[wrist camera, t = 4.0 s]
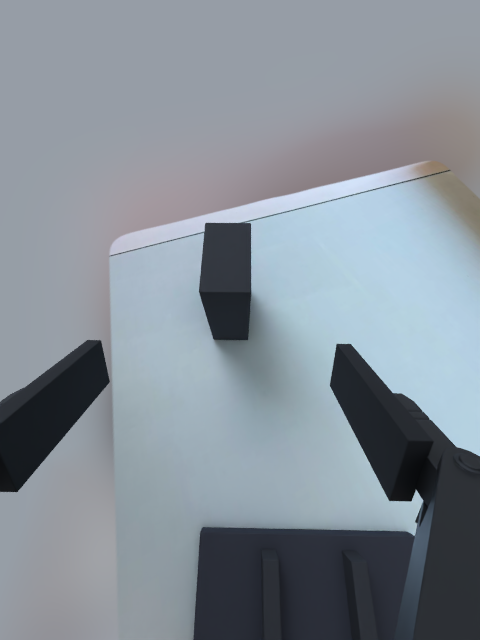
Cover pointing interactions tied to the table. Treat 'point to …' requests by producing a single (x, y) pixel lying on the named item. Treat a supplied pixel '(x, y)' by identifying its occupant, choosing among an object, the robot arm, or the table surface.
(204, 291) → the black block
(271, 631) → the base pad
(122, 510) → the table surface
